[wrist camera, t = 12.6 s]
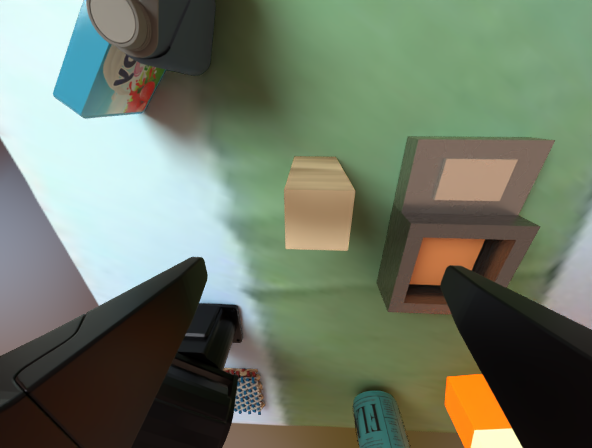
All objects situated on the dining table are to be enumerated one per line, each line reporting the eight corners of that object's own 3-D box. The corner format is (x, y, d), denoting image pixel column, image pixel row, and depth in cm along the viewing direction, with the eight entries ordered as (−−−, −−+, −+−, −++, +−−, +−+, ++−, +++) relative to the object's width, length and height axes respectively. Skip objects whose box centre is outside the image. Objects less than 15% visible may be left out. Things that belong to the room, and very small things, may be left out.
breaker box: (463, 286, 24) (490, 316, 21) (376, 282, 25) (387, 311, 21) (530, 137, 18) (586, 144, 14) (407, 136, 18) (432, 142, 14)
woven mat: (260, 364, 34) (257, 378, 32) (266, 402, 38) (264, 416, 37) (192, 361, 34) (186, 375, 32) (207, 399, 39) (202, 413, 37)
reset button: (455, 275, 23) (464, 286, 22) (400, 273, 23) (406, 284, 22) (474, 228, 20) (486, 236, 19) (413, 227, 21) (420, 234, 19)
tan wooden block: (332, 195, 21) (347, 250, 13) (294, 195, 21) (285, 248, 13) (335, 156, 19) (355, 190, 11) (294, 156, 19) (284, 189, 11)
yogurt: (143, 113, 18) (78, 119, 13) (125, 99, 18) (50, 99, 12) (226, -46, 14) (180, -138, 9) (205, -71, 13) (143, -185, 8)
